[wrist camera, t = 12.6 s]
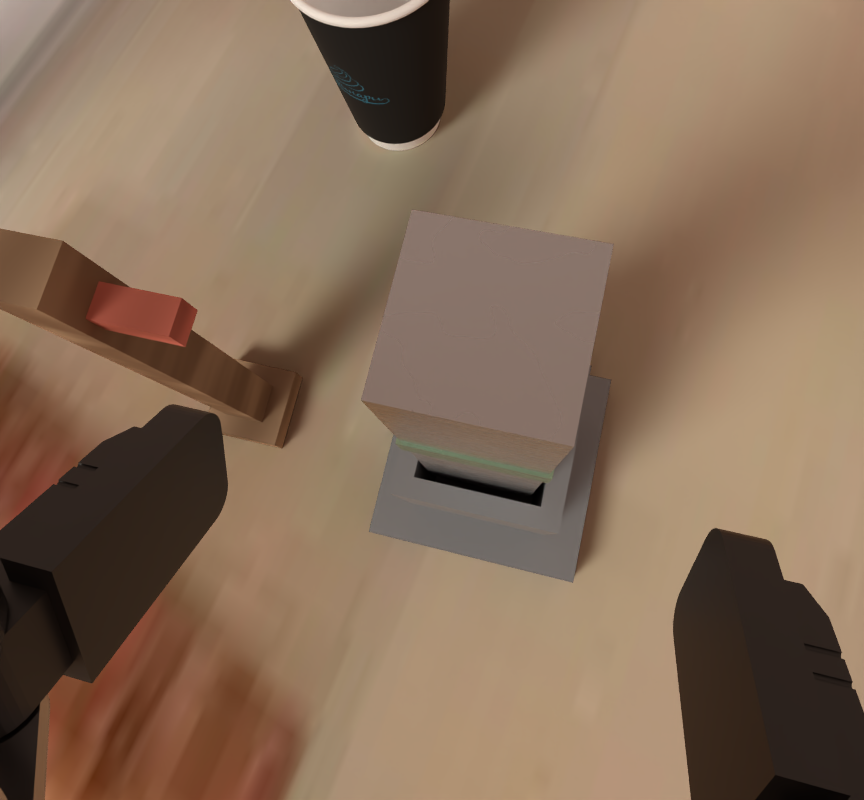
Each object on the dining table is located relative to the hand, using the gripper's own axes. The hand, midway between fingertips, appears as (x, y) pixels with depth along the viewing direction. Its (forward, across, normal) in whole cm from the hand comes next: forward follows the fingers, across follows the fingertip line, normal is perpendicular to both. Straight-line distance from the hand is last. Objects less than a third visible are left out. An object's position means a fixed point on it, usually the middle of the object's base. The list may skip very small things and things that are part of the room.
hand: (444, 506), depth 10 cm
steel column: (+13, 0, +8) cm, 15 cm away
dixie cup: (+32, +10, 0) cm, 33 cm away
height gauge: (+18, +13, +13) cm, 26 cm away
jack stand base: (+18, 0, +13) cm, 22 cm away
